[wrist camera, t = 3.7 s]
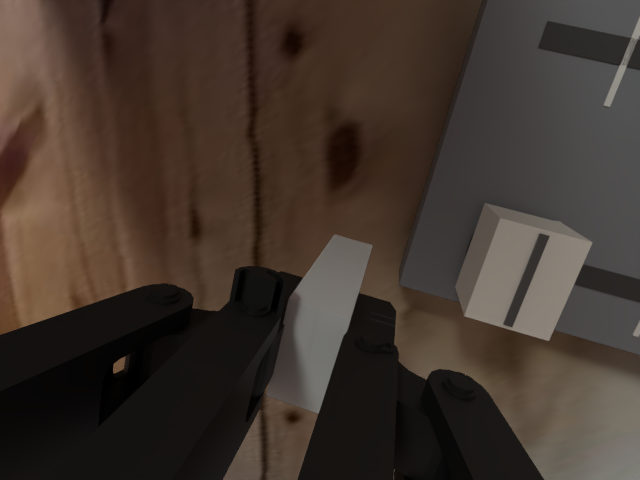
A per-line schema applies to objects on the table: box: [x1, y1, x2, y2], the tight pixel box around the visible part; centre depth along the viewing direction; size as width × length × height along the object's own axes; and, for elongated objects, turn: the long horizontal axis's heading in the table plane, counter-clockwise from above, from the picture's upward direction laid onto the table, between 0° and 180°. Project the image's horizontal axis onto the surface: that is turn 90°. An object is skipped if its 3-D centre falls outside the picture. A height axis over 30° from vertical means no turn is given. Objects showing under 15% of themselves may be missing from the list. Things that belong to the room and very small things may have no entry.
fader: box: [455, 203, 593, 341], centre depth 22 cm, size 4×5×4 cm
